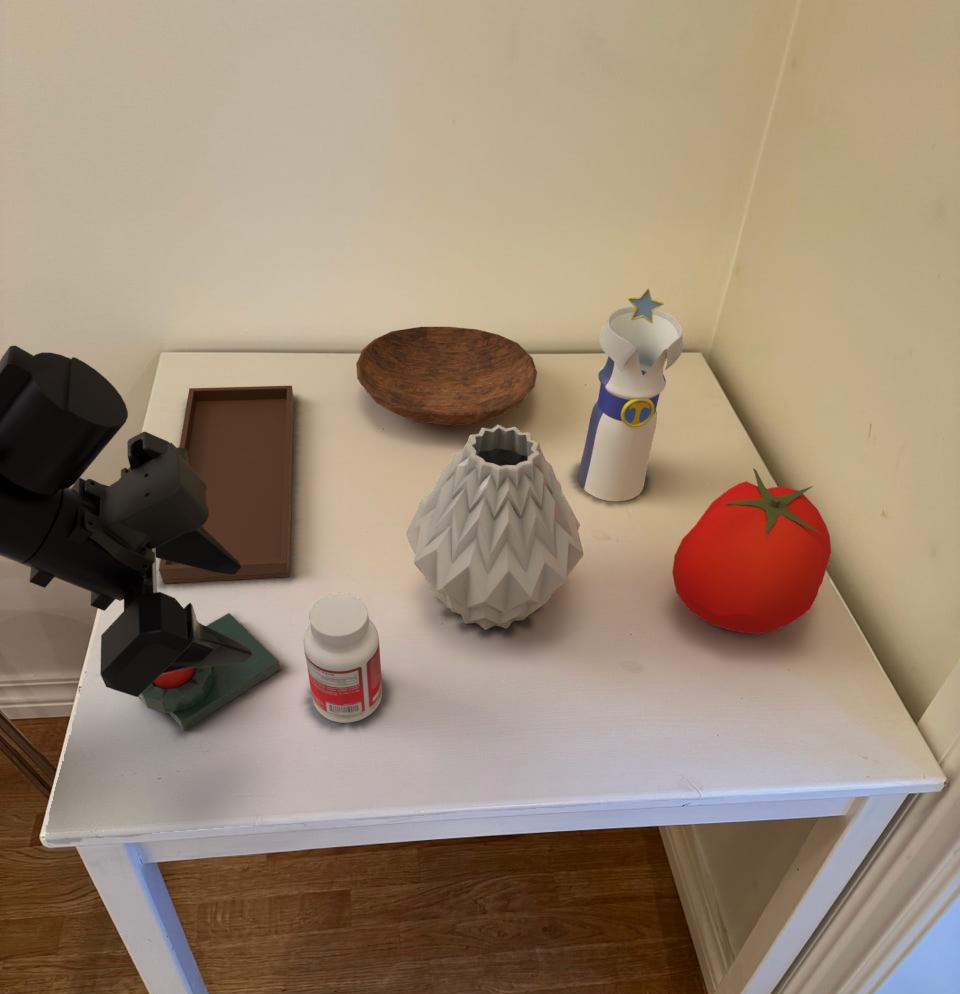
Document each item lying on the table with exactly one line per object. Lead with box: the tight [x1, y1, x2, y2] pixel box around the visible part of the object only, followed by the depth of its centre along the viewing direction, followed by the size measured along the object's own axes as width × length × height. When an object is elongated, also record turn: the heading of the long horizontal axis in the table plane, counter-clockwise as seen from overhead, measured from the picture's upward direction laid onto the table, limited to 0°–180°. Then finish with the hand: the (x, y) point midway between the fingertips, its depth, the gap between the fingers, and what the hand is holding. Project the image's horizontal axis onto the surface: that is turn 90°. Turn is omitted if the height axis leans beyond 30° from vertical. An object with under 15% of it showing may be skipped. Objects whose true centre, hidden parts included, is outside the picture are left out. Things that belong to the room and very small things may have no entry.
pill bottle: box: [303, 592, 383, 724], centre depth 72 cm, size 6×6×11 cm
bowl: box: [355, 326, 538, 426], centre depth 106 cm, size 20×22×5 cm
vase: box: [405, 424, 584, 631], centre depth 78 cm, size 16×16×18 cm
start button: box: [154, 668, 195, 689], centre depth 73 cm, size 4×4×2 cm
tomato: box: [671, 467, 832, 635], centre depth 81 cm, size 16×14×14 cm
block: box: [137, 612, 281, 731], centre depth 76 cm, size 11×8×3 cm
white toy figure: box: [577, 287, 684, 502], centre depth 89 cm, size 8×9×25 cm
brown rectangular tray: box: [158, 385, 295, 585], centre depth 94 cm, size 31×12×2 cm, turn 7°
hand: (243, 611), depth 65 cm, fingers open, 9 cm apart
